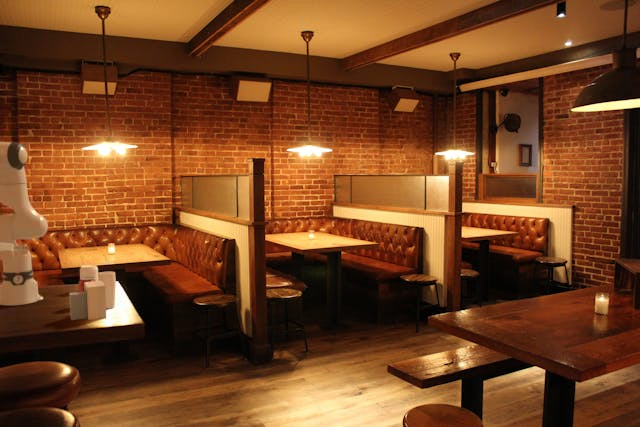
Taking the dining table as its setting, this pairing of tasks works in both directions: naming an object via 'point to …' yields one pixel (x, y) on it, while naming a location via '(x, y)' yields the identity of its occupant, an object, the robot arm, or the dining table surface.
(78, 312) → the charger
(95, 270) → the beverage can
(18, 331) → the dining table surface
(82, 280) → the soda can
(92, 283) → the socket block
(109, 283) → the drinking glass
